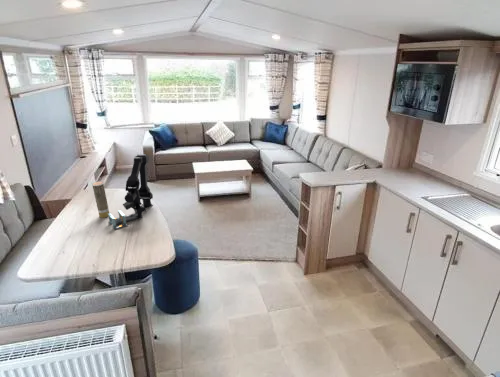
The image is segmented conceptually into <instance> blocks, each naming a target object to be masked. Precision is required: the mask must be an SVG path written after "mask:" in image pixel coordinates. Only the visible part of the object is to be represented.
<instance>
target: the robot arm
mask: <svg viewBox="0 0 500 377" xmlns="http://www.w3.org/2000/svg"><path fill="white" fill-rule="evenodd" d="M149 161H150V158H149V155H148V154H142V153H139V154H137V155H135V156H134V158H133V164H132V167H131V168H132V169H131V174H130V175H129V176H128V177H127V180H126V182H125V192H126V195H125V196H124V201H125V202H124V203H122V206H123V207H124V209H125V210H129V209H133V211H134V213H137V214H138V217H139V218H138V219H140V217H141V215H142V216H143V212H147V209H148V208H150V207H153V206H154V204H152V200H153V195H154V194H153V193H152V192H151V189H150V187H149V186H148V176H147V175H148V174H147V173H148V172H147V165H148V164H149ZM141 200H142V201H141ZM141 218H142V217H141Z"/></svg>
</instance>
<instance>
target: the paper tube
mask: <svg viewBox="0 0 500 377" xmlns="http://www.w3.org/2000/svg"><path fill="white" fill-rule="evenodd" d="M92 189H93V190H92V191H93V194H94V198H95V203H96V207H97V211H98V216H99V218H102V219H105V218H107V217H108V213H110V209H109V205H108V201H107V200H108V199H107V194H106V189H105V186H104V182H103V181H94V182H93V183H92ZM108 218H109V217H108Z"/></svg>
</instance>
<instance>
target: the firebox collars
mask: <svg viewBox="0 0 500 377" xmlns="http://www.w3.org/2000/svg"><path fill="white" fill-rule="evenodd" d="M117 213H118V218H120V217H122V220H123V223H122V224H118V226H117V225H116V223H115V219H116V218H117V217H114V216H113V214H112V213H111V212H109V213H108V223H109V224H110V225H112V228H113V229H114V231H116V230H120V229H123V228H126V227H128V223H127V222H126V218H125V216H126V215H125V214H124V213H123V210H121V209H119V210H117Z"/></svg>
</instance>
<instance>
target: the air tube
mask: <svg viewBox="0 0 500 377" xmlns="http://www.w3.org/2000/svg"><path fill="white" fill-rule="evenodd" d="M115 218H116V219H115V223H116V226H117V225H122V224H123V220H122V217H120V218H119V217H115ZM125 218H126V223H127V222H131V221H134V220H137V219H140V218H143V214H142V215H141V217H140V218H139V217H138V214H137V213H135V212H134V213H131V214H127V215H125Z"/></svg>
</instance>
